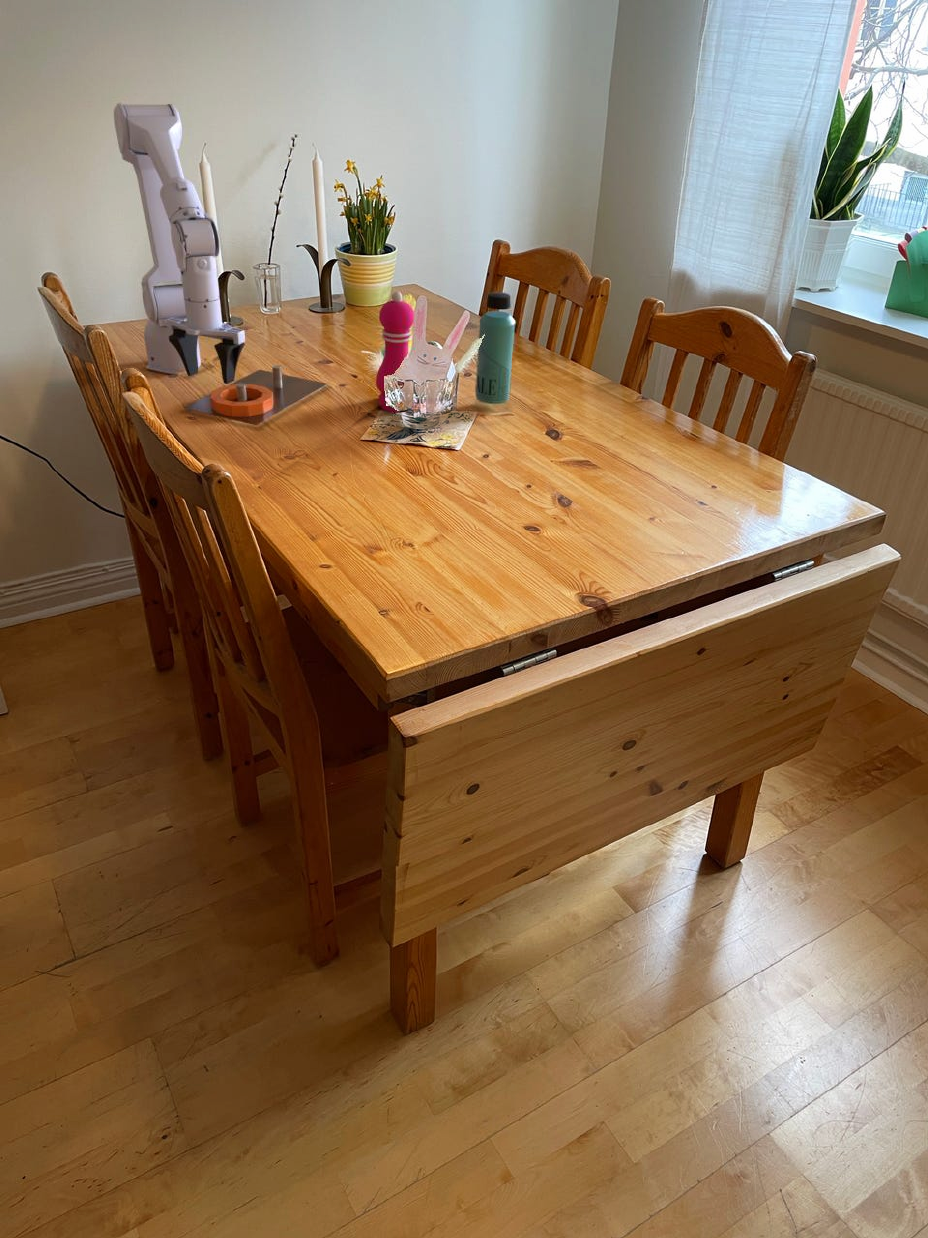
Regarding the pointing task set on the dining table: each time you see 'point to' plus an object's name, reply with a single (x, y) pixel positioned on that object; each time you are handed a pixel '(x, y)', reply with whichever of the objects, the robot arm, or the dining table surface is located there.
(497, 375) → the beverage bottle
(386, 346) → the pepper mill
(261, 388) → the ring
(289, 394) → the peg board
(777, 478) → the dining table surface
